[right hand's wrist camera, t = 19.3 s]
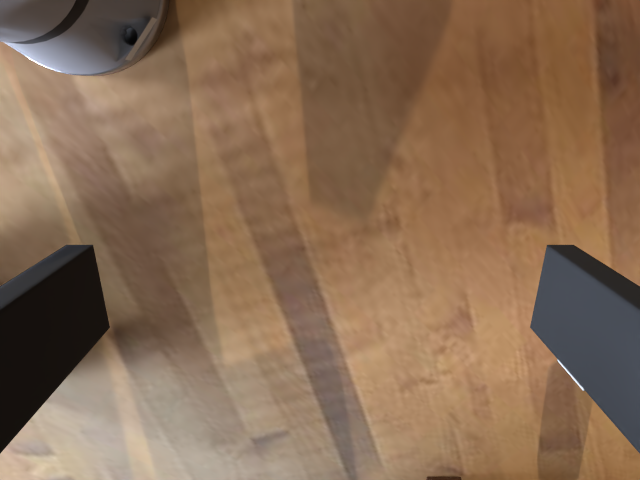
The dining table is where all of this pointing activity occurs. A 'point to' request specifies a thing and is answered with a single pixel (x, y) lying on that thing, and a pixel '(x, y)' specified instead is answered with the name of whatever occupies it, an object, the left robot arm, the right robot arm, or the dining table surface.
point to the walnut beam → (443, 478)
